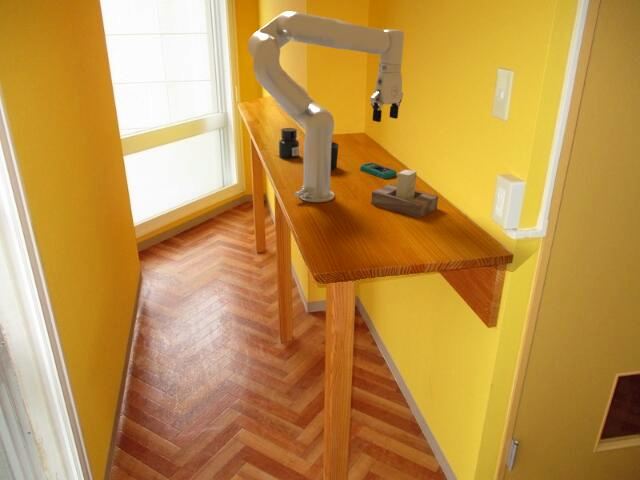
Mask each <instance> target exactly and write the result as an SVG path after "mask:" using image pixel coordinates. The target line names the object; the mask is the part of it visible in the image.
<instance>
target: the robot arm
mask: <svg viewBox="0 0 640 480" xmlns="http://www.w3.org/2000/svg"><path fill="white" fill-rule="evenodd" d="M290 41H291V42H297V43H303V44H307V45H314V46H319V47H320V46H321V47H326V48H331V49H337V50H338V49H339V50H351V51H356V52H360V53H367V54H373V55H379V58H378V59H379V61H378V62H379V63H378V73H377V76H376V81H375V87H374V93H373V94H372V95H371V96H370V102H371V103H370V105H371V107H372V111H373V112H372V121H373V122H376V123H380V122H382V112H383V111H382V108H383V106H384V105H390V108H389V118H390V119H391V118H392V119H398V118H399V108H400V107H401V103H402V101H403V100H402V99H403V96H404V93H403V92H402V91H403V77H402V76H403V75H402V72H401V71H402V63H403V54H404V53H403V51H404V44H405V43H404V42H405V33H404V30H401V29H394V28H393V29H391V28H386V29H380V28H376V27H369V26H365V25H358V24H354V23H350V22H346V21H343V20H340V19H336V18H330V17H325V16H321V15H315V14H310V13H303V12H298V11H292V10H291V11H289V10H288V11H287V10H286V11H284V12H282V13H280V14H279V15H277V16H276V17H274V18H273V19H272V20H271V21H269V22H267V24H266V25H263V27H261V28H259V30H257V31H256V32H254V33H253V34H252V35H251V36H250V38H249V39H248V42H247V51H248V53H249V55H250V56H251V57H252V58H253V60H252V61H253V62H252V66H253V73H254V76H255V79H256V80H257V82H258V83H259V85H260V86H261V87H262V88H263V89H264V90H265V91H266V92H267V93H268V95H270V96H271V97H272V98H273V99H274V100H275V102H276V104H277V105H278V107H279V108H280V109H282V110H283V112H285V113H286V114H287V115H288V116H289V117H290V118H291V119H292V120H293V121H295V122H296V123H297V124H298V125H299V126H300V127H301V128H302V129H303V130H305V136H304V140H303V178H302V179H303V184H302V185H301V189H300V190H298V191H295V192H294V197H296V198H300V200H303V201H305V202H308V203H326V202H330V201H331V200H333V199H334V198H335V193H334V192H333V191H332V190H331V177H332V176H331V175H332V174H331V171H332V170H331V145H332V142H333V134H334V131H335V120H334V116H333V115H332V113H331V112H330V111H329V110H328V109H326V108H325V107H323V106H322V105H319V104H318V102H316V101H315V100H314V99H313V98H311V97H310V96H309V94H308V92H307V91H306V89H305V88H304V87H302V85H299V84H298V83H297V82H296V80H294V79H293V78H292V77H291V76H290V75H289V74H288V72H286V71H285V70H284V69H283V67H282V66H281V62H280V57H281V56H280V55H281V48H282V47H284V46H285V45H286V44H287V43H289V42H290Z"/></svg>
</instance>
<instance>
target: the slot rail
mask: <svg viewBox="0 0 640 480" xmlns="http://www.w3.org/2000/svg"><path fill="white" fill-rule="evenodd" d="M396 188H397V184H395V183H390V184H387V185H384V186H382V187H380V188H378V189H374V190H373V191H371V201H370V203H371V205H374V206H377V207H381V208H384V209H387V210H390V211H392V212H397V213H400V214H402V215H403V214H404V215H407V216H410V217H414V218H418V219H420V218H422V217H425V216H426V215H428V214H430V213H431V212H433V211H434V210H436V209H438V202H439V195H435V194H432V193H428V192H424V191H420V190H417V189H415V194H414V198H413V199H411V200H406V199H403V198H399V197H396Z"/></svg>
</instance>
